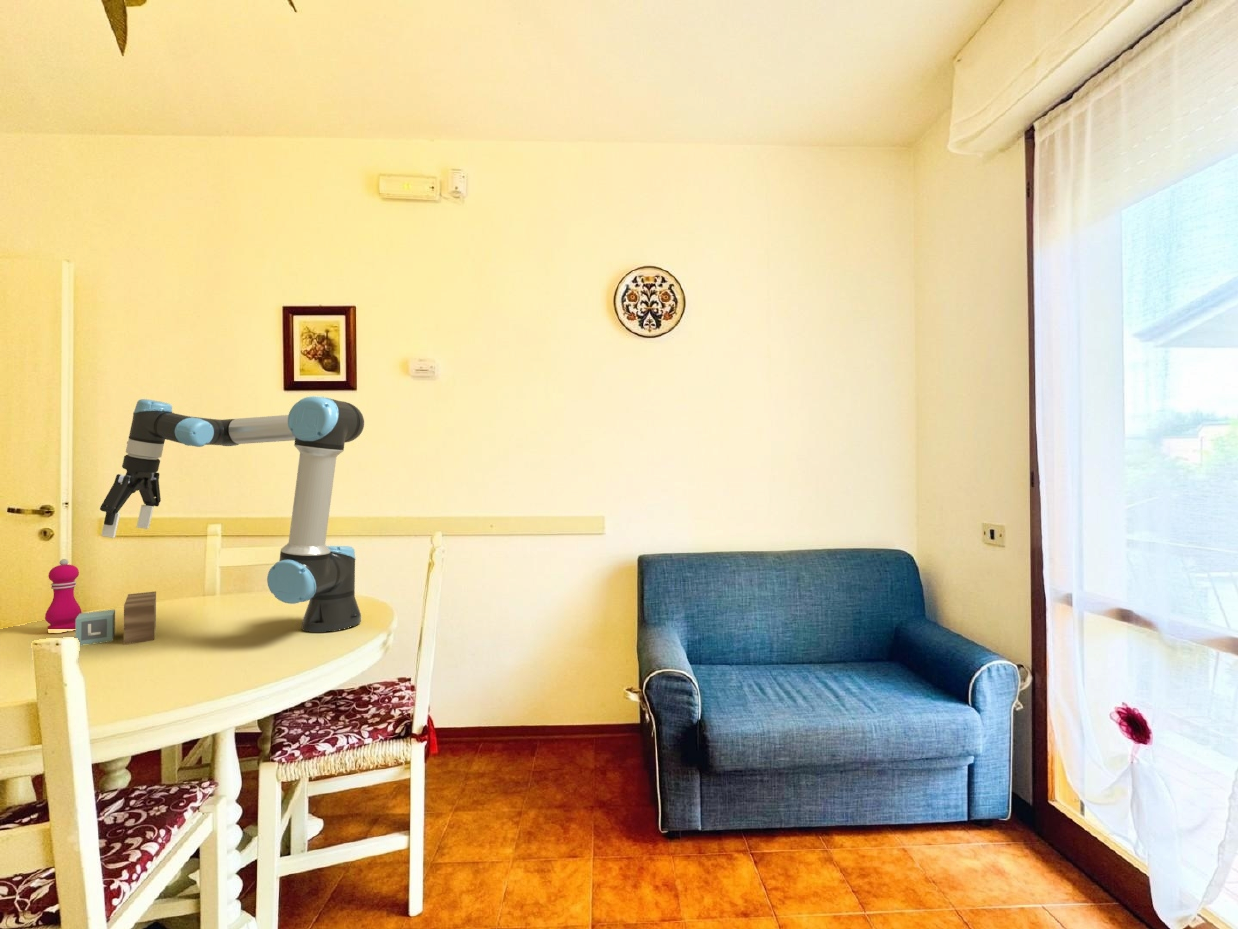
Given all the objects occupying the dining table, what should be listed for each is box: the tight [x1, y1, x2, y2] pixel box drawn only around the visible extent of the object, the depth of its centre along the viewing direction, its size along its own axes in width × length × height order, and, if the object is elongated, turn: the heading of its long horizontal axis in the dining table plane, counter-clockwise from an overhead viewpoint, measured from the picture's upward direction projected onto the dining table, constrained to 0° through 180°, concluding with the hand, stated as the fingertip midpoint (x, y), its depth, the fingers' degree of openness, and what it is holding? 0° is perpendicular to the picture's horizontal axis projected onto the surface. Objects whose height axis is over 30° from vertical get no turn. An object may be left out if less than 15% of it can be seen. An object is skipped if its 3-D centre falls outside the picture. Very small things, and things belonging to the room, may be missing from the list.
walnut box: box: [123, 591, 157, 645], centre depth 151 cm, size 16×6×10 cm, turn 39°
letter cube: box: [74, 609, 116, 647], centre depth 146 cm, size 7×7×7 cm
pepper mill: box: [44, 558, 82, 629], centre depth 154 cm, size 7×7×20 cm
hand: (126, 532), depth 150 cm, fingers open, 13 cm apart
